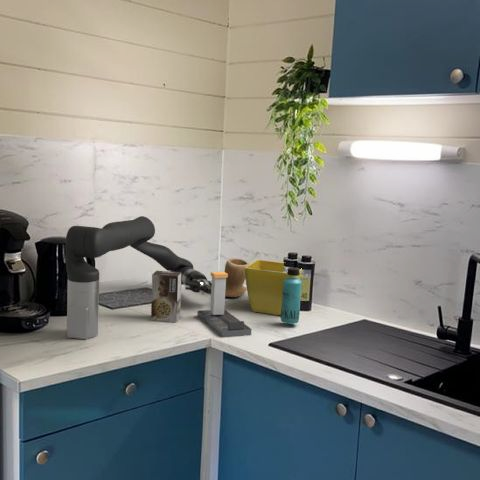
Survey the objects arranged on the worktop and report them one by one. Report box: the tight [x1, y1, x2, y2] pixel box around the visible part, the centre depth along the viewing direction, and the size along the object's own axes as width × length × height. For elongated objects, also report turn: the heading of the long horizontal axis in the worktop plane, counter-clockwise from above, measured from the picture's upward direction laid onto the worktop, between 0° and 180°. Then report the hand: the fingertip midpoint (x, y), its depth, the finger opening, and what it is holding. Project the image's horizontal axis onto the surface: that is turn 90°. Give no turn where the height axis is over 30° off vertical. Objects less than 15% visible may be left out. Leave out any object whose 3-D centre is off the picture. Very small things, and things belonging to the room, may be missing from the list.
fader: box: [209, 271, 228, 315], centre depth 206 cm, size 4×5×14 cm
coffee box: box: [150, 270, 182, 323], centre depth 204 cm, size 9×6×16 cm
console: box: [196, 308, 252, 338], centre depth 202 cm, size 24×10×4 cm, turn 23°
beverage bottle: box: [280, 268, 303, 325], centre depth 205 cm, size 6×7×20 cm
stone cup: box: [224, 257, 250, 298], centre depth 244 cm, size 15×12×15 cm
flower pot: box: [245, 259, 302, 316], centre depth 224 cm, size 19×19×17 cm
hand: (209, 290), depth 214 cm, fingers closed
